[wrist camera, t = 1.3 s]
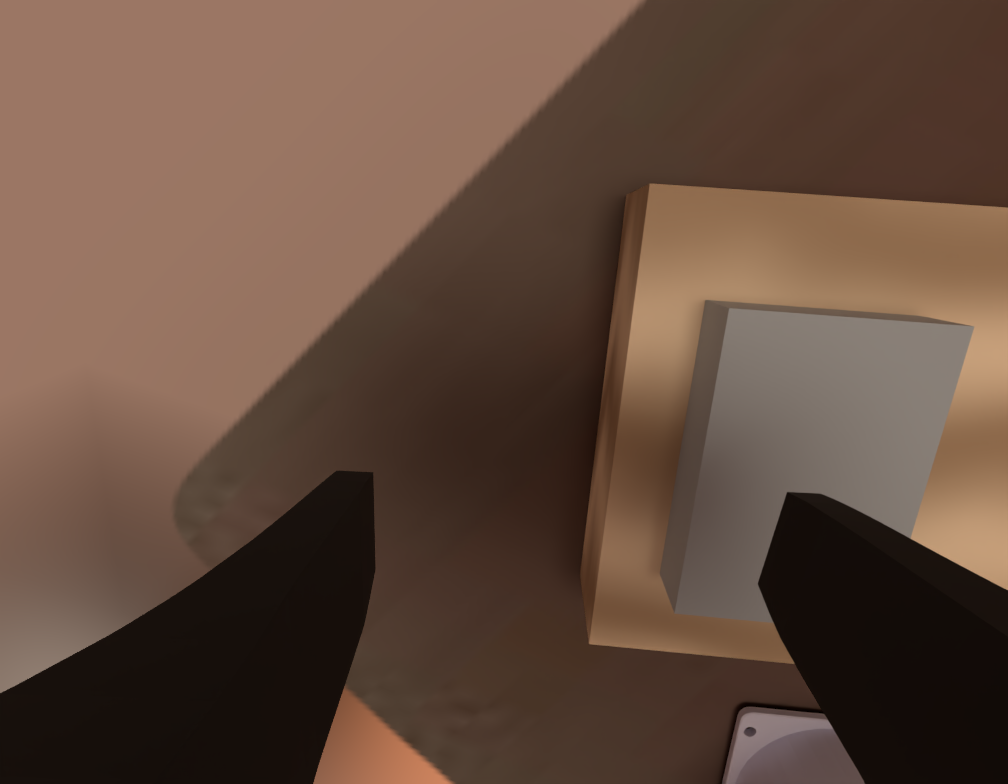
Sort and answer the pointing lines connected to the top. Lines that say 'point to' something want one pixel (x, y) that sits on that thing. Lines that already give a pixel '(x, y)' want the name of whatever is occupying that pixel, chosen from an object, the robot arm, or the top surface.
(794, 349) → the grey rectangular block
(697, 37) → the top surface
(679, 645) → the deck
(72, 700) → the robot arm
